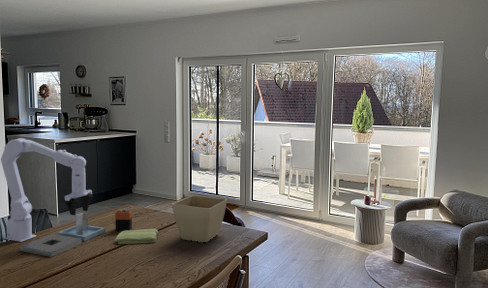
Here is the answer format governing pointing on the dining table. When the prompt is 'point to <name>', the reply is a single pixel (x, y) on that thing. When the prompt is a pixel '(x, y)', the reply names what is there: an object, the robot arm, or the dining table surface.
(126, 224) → the battery
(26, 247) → the pin plate
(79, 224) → the pin
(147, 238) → the washcloth
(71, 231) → the tray
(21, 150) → the robot arm
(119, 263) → the dining table surface
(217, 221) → the flower pot
